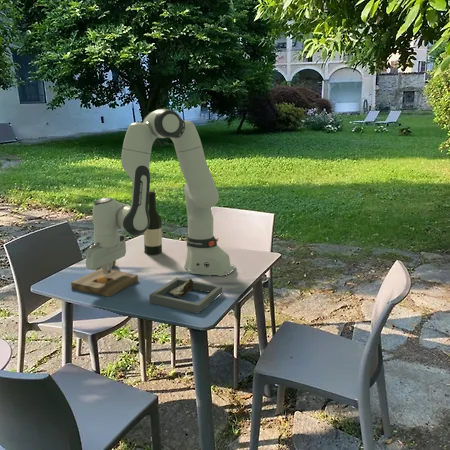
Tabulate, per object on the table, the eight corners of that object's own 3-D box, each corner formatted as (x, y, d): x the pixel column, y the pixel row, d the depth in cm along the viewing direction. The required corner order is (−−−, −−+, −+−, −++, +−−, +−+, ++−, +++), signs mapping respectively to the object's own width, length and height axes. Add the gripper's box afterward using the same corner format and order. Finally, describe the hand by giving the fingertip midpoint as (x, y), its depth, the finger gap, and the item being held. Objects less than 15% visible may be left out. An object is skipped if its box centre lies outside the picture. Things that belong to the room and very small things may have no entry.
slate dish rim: (222, 293, 169) (222, 286, 169) (198, 313, 153) (198, 305, 152) (176, 284, 177) (176, 277, 176) (149, 302, 160) (149, 294, 160)
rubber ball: (102, 288, 172) (108, 286, 175) (103, 277, 171) (110, 276, 175) (94, 286, 173) (100, 284, 177) (95, 275, 173) (101, 274, 177)
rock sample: (171, 278, 173) (183, 269, 167) (187, 290, 175) (198, 281, 169) (160, 298, 166) (171, 289, 160) (176, 310, 167) (188, 301, 162)
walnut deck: (137, 280, 181) (137, 274, 180) (109, 296, 165) (108, 290, 164) (102, 273, 188) (102, 267, 187) (71, 288, 172) (71, 282, 171)
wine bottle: (145, 249, 220) (143, 189, 212) (162, 249, 221) (161, 189, 213) (144, 255, 212) (142, 193, 204) (161, 254, 213) (160, 192, 205)
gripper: (94, 248, 163) (96, 283, 166) (128, 234, 181) (129, 267, 184) (80, 245, 165) (82, 280, 168) (115, 232, 183) (116, 264, 187)
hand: (107, 273), depth 176 cm, fingers closed
